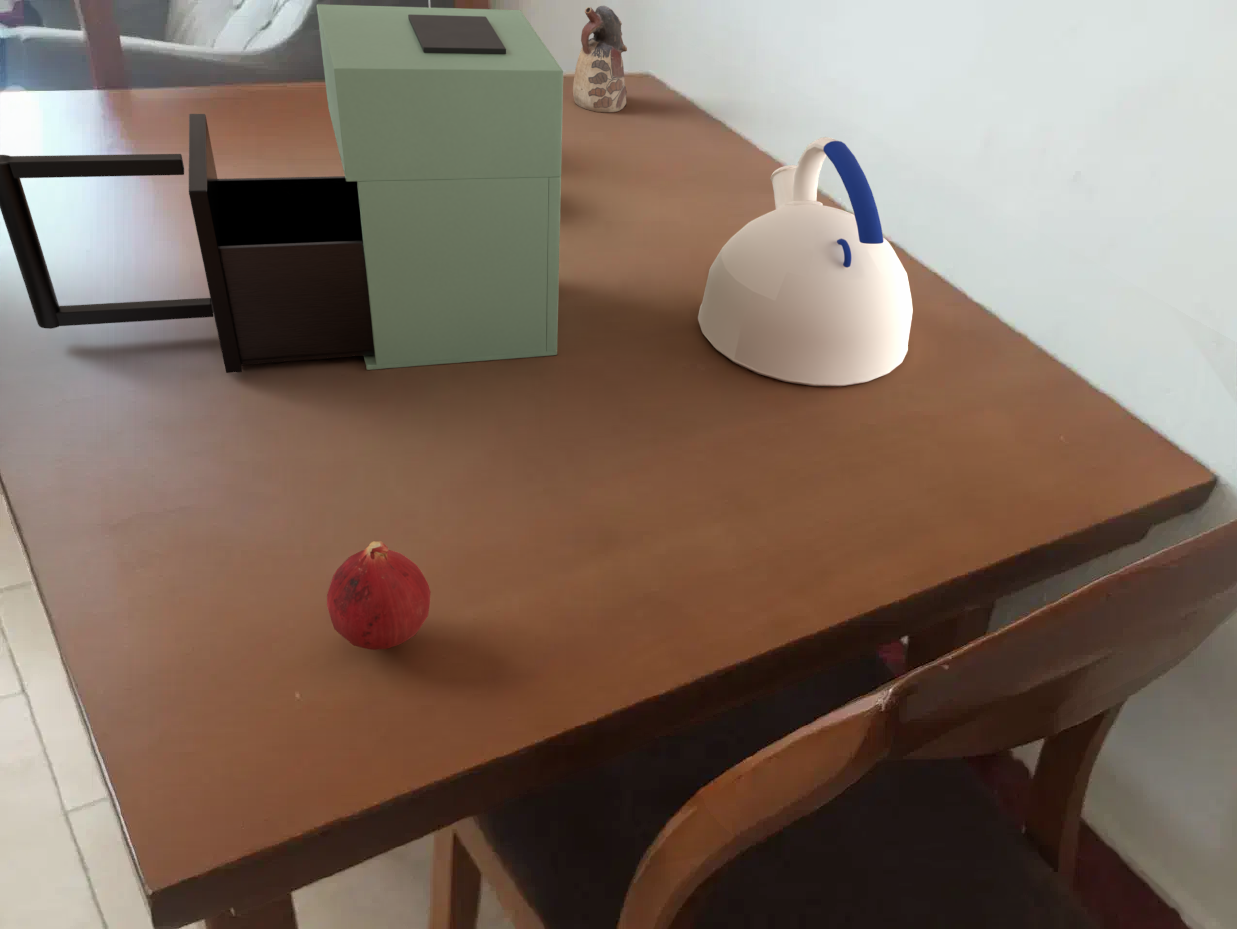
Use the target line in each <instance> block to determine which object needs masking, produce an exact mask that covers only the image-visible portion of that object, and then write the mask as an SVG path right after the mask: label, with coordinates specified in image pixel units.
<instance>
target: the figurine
mask: <svg viewBox="0 0 1237 929" xmlns="http://www.w3.org/2000/svg"><path fill="white" fill-rule="evenodd" d="M584 13H585V15H586V17H587V19H588V20H589V21H588V22H587V23H586V24H585V25H584V27H583V28H582V30H581V36H580V42H581V46H582V47H581V49H580V52H579V54H578V57H577V61H576V65H575V70H574V78H573V83H572V93H573V94H572V95H573V96H572V97H573V101H574V103H575V104H576V105H577V106H579V107H581V108H582V109H585V110H588V111H592V112H597V113H616V112H620V111H621V110H623V109H624V108H625V106H627V94H628V90H627V88H626V79H625V69H624V68H625V67H624V61H623V56H622V54H623V53H626V52H628V47H627V45H625V44H624V41H623V31H622V26H623V23H622V21H621V19H620V18H619V16H618V15H617V14H616V13H615V11H614V10H613V9H612V8H610V7H609V6H607V5H598V6H597V7H596V9H595V10H594V9H593V8H592V6H588V7H586V8H585V9H584ZM592 34H593V37H591V35H592ZM590 37H591V38H590Z"/></svg>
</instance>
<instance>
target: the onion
mask: <svg viewBox="0 0 1237 929" xmlns="http://www.w3.org/2000/svg"><path fill="white" fill-rule="evenodd" d="M431 593H432V592H431V589H430V586H429V582H428V581H427V579H426V577H425V576H424V574H423V572H422V570H421V569H420V567H419V566H418V565H417V564H416V563H415V562H414V561H413V560H411V559H410V558H408V557H407V556H405V555H404V554H403V553H401V552H398V551H395V550H391V549H389V547H388V546H387V545H386V544H385V543H384V542H383V541H382V540H379V541H374V540H373V541H371V542H370V543H369V545H368V546H366V547H365V549H363V550H360V551H358V552H356V553H354V554H352V555H350V556H349V557H348V558H346V559H345V561H343V563H342V564H341V565H340V566H338V568H337V569H336V570H335V572H334V574H333V576H332V578H331V581H330V584H329V587H328V591H327V593H326V607H327V611H328V613H329V617H330V620H331V623H332V625H333V628H334V631H336V632H337V633H338V634H339V635H341V637H343V638H344V639H345V640H346V641H348V642H349V643H350V644H351V645H352V646H354V647H359V648H362V649H367V650H373V651H375V650H376V651H377V650H387V649H390V648H393V647H396V646H399V645H402V644H404V643H406V642H407V641H408V640H410V639H411V638H414V637H415V636H416V634H417V633H418V632H419V630H421V628H422V626H423V624H424V623H425V622H426V620H427V618H428V617H429V613H430V604H431Z"/></svg>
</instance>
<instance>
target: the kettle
mask: <svg viewBox="0 0 1237 929" xmlns="http://www.w3.org/2000/svg"><path fill="white" fill-rule="evenodd" d="M826 158H828V160H830V162H831V164H832V165H833V166H834V168H835V170H836V171H837V173H838V175H839V177H840V180H841V181H842V184H843V186H844V189H845V190H846V193H847V195H848V199H849V202H850V205H851V208H852V209H853V210H852V211H853V213H851V212H849V211H846V210H843V209H839V208H837V207H833V206H829V205H823V203H822V202H821V201H818V200H817V199H818V197H817V195H818V184H819V179H820V173H821V170H822V166H823V164H824V161H825V160H826ZM769 181H770V182H771V183H772V189H773V197H774V198H773V199H774V204H775V205H774V207H775V209H774V210H771V211H769V212H767V213H764V214H762V215H760V216H759V217H756V218H754V219H752V220H750V221H748V222H747V223H746V224H745V225H744V226H743V227H742V228H740V229H739V230H738V231H737V232H736V233H735V234H733V235H732V236H731V237H730V238H729V239H728V240H727V242H726V243H725V244H724V245H723V246H722V248H721V249H720V251H719V252H718V254H717V256H716V257H715V259H714V260H713V262H712V264H711V265H710V267H709V270H708V274H707V279H706V283H705V288H704V291H703V292H704V293H703V297H702V301H701V304H700V306H699V311H698V315H697V321H698V324H699V327H700V330H701V333H702V335H704V337H705V338H706V339H707V340H708V341H709V343H710V344H711V345H712V346H713V348H715V350H716V351H718V352H719V353H721V354H722V355H723V356H725V357H726V358H727V359H729V360H730V361H732V362H733V363H735V364H736V365H739V366H740V367H743V368H745V369H747V370H749V371H752V372H754V373H755V374H758V375H762V376H765V377H766V378H767V377H768V378H772V379H775V380H777V381H782V382H785V383H789V384H790V383H791V384H798V385H806V386H809V387H810V386H812V387H845V386H852V385H858V384H864V383H868V382H871V381H873V380H876V379H878V378H881V377H883V376H886V375H889V374H890V373H891V372H892V371H894V370H895V369H896V368H897V367H899V366H900V365H901V364H902V363H903V361H904V360H905V357H906V355H907V354H908V351H909V346H908V345H909V339H910V333H911V328H912V327H911V326H912V320H913V312H914V310H913V307H914V306H913V299H912V293H911V287H910V283H909V278H908V273H907V271H906V269H905V268H904V265H903V263H902V262H901V260H900V259H899V257H898V255H897V253H896V251H895V250H894V248H893V247H892V245H891V243H890V242H889V241H888V240H887V239H886V238H885V237H884V234H883V229H882V223H881V219H880V214H879V210H878V207H877V204H876V201H875V196H874V193H873V191H872V188H871V186H870V184H869V182H868V179H867V177H866V174H865V173H864V170H863V169H862V167H861V165H860V163H859V161H858V160H857V158H856V156H855V154H854V153H853V152H852V151H851V149H850V148H849V147H848V146H847V144H846V143H844V142H843V141H841V140H837V139H835V138H833V137H828V136H824V137H819V138H817V139H816V140H813V141H812V142H810V143H809V144H807V146H806V147H805V148H804V150H803V152H802V153H801V155H800V156H799V158H798V161H797V164H789V165H783V166H780V167H778V168H776V169H775V170H774V171H773V172H772V174H771V176H770V178H769Z"/></svg>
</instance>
